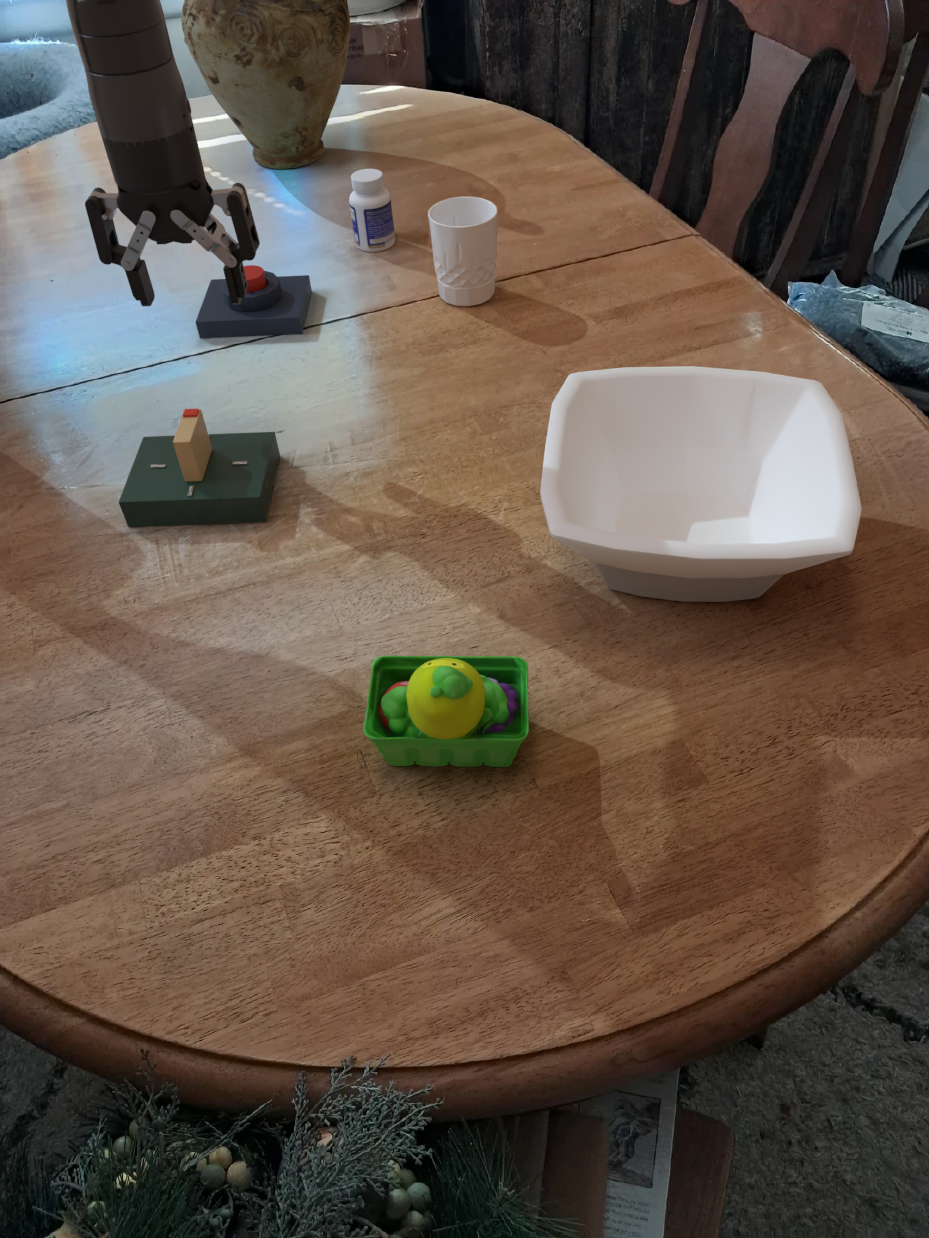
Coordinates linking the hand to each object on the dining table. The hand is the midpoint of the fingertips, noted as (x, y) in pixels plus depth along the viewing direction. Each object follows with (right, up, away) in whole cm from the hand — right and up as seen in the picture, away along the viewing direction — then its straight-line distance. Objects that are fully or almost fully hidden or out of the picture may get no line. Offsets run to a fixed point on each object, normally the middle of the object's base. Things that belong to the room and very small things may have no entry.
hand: (193, 301), depth 93 cm
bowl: (+45, -24, -6) cm, 51 cm away
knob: (+1, -15, 0) cm, 16 cm away
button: (+1, +9, +22) cm, 24 cm away
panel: (+1, -18, +2) cm, 18 cm away
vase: (-1, +40, +57) cm, 70 cm away
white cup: (+26, +9, +26) cm, 38 cm away
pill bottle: (+14, +19, +36) cm, 43 cm away
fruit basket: (+25, -39, -20) cm, 51 cm away
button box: (+1, +6, +25) cm, 26 cm away
